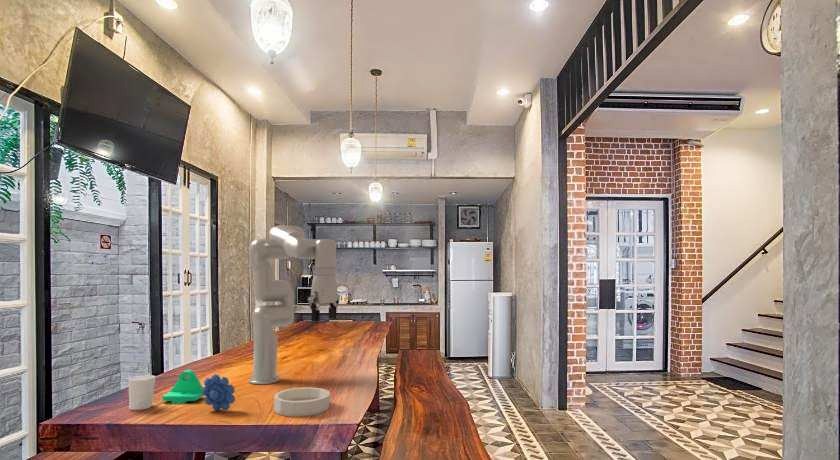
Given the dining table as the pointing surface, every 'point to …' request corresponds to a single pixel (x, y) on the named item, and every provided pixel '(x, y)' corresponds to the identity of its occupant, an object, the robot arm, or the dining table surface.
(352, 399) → the dining table surface
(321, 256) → the robot arm
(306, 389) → the fruit bowl
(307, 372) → the dining table surface
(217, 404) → the blue gear
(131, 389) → the white cup
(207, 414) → the dining table surface
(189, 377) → the camera mount
